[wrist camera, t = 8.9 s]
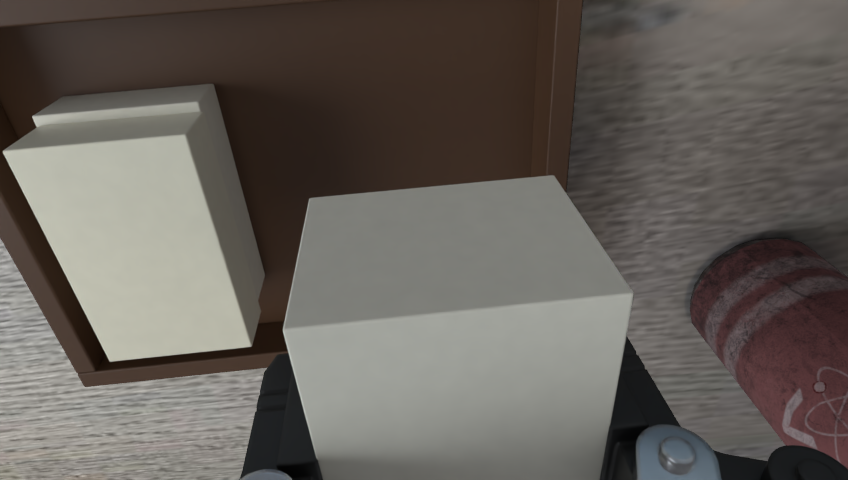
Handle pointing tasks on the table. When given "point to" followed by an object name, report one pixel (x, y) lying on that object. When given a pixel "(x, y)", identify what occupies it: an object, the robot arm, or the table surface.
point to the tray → (294, 117)
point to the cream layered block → (146, 218)
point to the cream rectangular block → (456, 333)
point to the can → (782, 337)
